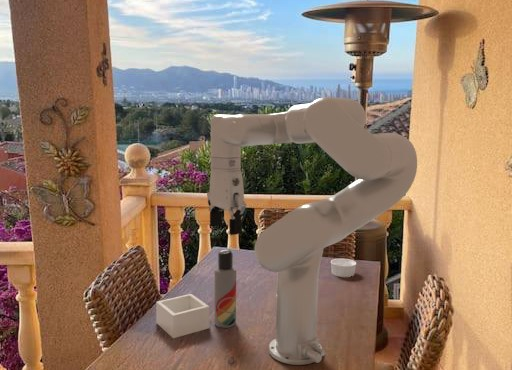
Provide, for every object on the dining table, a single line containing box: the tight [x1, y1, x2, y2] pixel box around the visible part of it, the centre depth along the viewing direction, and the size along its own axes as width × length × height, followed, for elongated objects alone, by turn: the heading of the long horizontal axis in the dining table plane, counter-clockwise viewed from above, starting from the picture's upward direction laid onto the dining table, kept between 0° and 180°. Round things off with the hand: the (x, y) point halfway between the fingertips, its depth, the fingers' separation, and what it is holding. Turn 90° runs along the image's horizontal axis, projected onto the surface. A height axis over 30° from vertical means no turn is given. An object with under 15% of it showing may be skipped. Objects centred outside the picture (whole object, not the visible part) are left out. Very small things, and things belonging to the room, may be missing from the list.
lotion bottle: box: [213, 249, 237, 329], centre depth 126 cm, size 6×6×20 cm
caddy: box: [155, 293, 210, 339], centre depth 125 cm, size 10×10×6 cm
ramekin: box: [330, 258, 357, 278], centre depth 167 cm, size 9×9×4 cm
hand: (225, 229), depth 123 cm, fingers open, 9 cm apart
